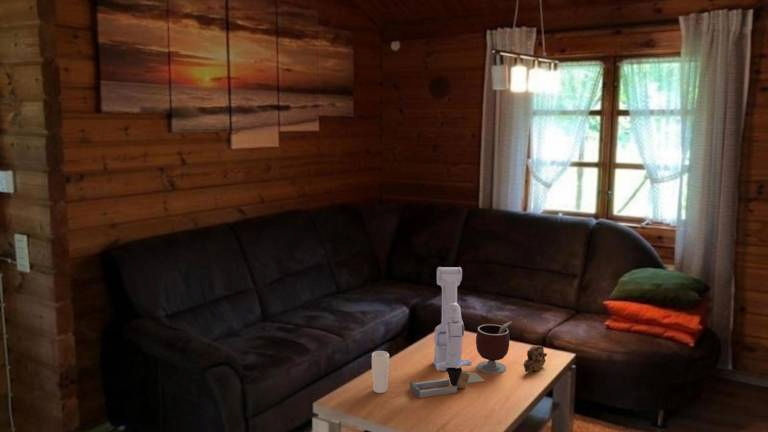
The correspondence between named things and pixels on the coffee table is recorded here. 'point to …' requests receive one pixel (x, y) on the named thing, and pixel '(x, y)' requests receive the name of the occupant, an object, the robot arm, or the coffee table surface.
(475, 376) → the pad
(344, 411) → the coffee table surface
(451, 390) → the channel
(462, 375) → the block
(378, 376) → the drinking glass
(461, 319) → the robot arm
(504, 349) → the mate gourd
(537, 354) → the wooden carving
